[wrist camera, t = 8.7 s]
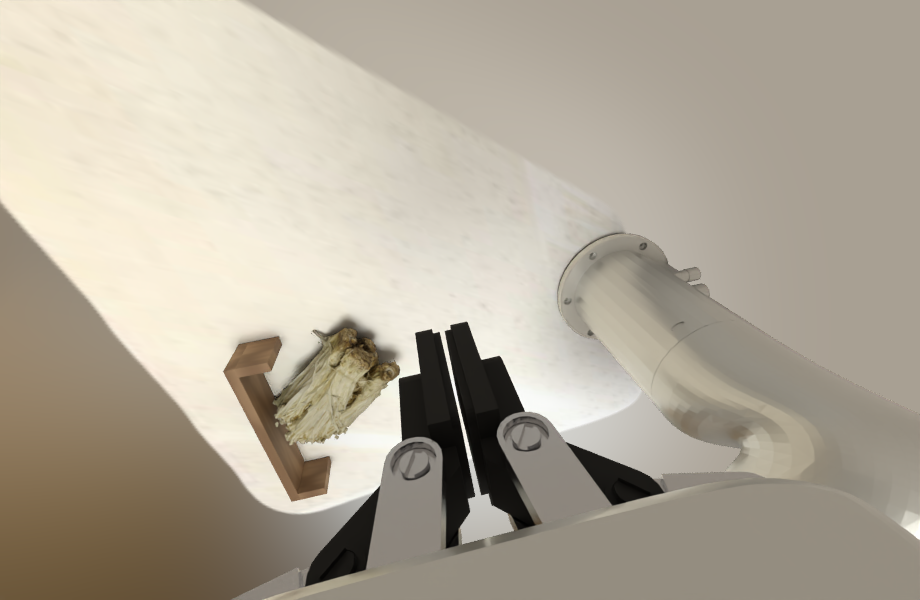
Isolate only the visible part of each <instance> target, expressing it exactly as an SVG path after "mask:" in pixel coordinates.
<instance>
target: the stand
mask: <svg viewBox="0 0 920 600" xmlns="http://www.w3.org/2000/svg"><path fill="white" fill-rule="evenodd" d="M281 346H282V344H281V341H280V339H279V337H274V338H269V339H264V340H259V341H254V342H249V343H244V344H239V345H238V347H237V348H236V350H235V352H234V354H233V355H232V357H231V359H230V361H229V362H228V364H227V366H226V368H225V369H224V371H223V372H224V374H225V376H226V378H227V380H228V382H229V384H230V385H231V387H232V389H233V391H234V393H235V395H236V397H237V399H238V401H239V402H240V404H241V406H242V408H243V410H244V412H245V414H246V416H247V418H248V420H249V421H250V423H251V425H252V427H253V429H254V431H255V433H256V435H257V437H258V439H259V440H260V442H261V444H262V446H263V448H264V450H265V452H266V454H267V456H268V457H269V459H270V461H271V463H272V465H273V467H274V469H275V471H276V473H277V475H278V476H279V478H280V480H281V482H282V484H283V486H284V488H285V490H286V492H287V494H288V495H289V497H290V499H291V501H297V500H301V499H305V498H310V497H314V496H318V495H323V494H327V489H328V482H329V475H330V468H331V460H330V458H329V457H325V458H320V459H316V460H311V461H307V462H304V460H303V457H302V455H301V453H300V451H299V449H298V447H297V445H296V442H293V444H292V445H289V442H290V441H287V440H286V438H285V432H288V431H289V430H287V429H286V423H285V424H283V425H281V424H280V421H279V420H278V419H276V418H275V416H274V415H275V414H277V409H278V407H277V406H276V405H274V404H273V401H274V399H275V398H274V395H273V393H272V391H271V389H270V387H269V385H268V383H267V381H266V378H265V376H264V374H263V373H264V372H269V371H271V370H272V368H273V365H274V363H275V361H276V358H277V356H278V353H279V351H280V348H281ZM276 422H278V427H276V425H275V423H276Z"/></svg>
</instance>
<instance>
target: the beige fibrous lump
mask: <svg viewBox="0 0 920 600" xmlns="http://www.w3.org/2000/svg"><path fill="white" fill-rule="evenodd" d="M313 332H314V333H315V334H316V335H317V336H318V337H319V338H320V339H321V341H322V345H323V347H322V350H321V351H320V352H319V354H318V355H317V356H316V357H315V358H314V359H313V360H312V361H311V363H310V364H309V365H308V366H307V367H306V368H305V369H304V370H303V371H302V372H301V373H300V374H299V375H298V376H297V377H296V378H295V379H294V380H293V381H292V382H291V383H290V384H288V385H289V386H288V385H287V386H288V387H287V386H286V387H287V388H286V389H285V390H284V389H283V390H284V391H283V390H282V393H281V396H280V397H279V398H278V399H276V400H275V399H274V401H273V404H274V405H276V406H277V407H278V409H277V414H275V415H274V416H275V418H276V419H278V420H279V421H280V424H281V425H283V424H285V423H286V429H287V430H289V431H288V432H285V438H286V440H287V441H290V442H289V445H292V444H293V442H297V441H299V442H300V443H301V444H305V441H306V443H307V442H311V443H312V444H313V443H314V442H315V441H316V442H318V443H321V442H322V443H324V441H325V440H326V439H328V438H330V437H331V436H332V434H334V435H336V436H335V438H336V439H338V438H339V436H337V434H338V435H340V434H342V433H346V431H347V430H348V428H347V427H349V426H350V425H351V424H352V423H353V422H354V420H355V419H356V418H357V417H358V416H359V415H360V414H361V413H362V412H364V411H365V410H366V409H367V407H368V406H369V405H370V404H371V403H372V402H373V401H374V400H375V398H377V397H378V396H380V395H381V394H380V391H381V390H382V389H384V388H386V387H387V386H388V385H386V384H387V383H388V382H389V381H392V380H393V379H394V378H396V377H397V376H398V375H399V373H400V368H399V366H398V365H396V362H395V360H394V362H392V363H388V362H384V363H383V364H382V365H380V364H379V361H378V354H377V352H375V350H376V348H375V344H374V343H373V341H372V340H371V339H368V338H365V337H363V338H361V339H356V335H357V331H356V330H354V329H352V328H350V329H347V328H343V329H342V330H341V331H339V332H338V333H336V334H334V335H331V336H327V337H323V336H321V335H319V334H318V333H317V331H316V330H313ZM311 334H312V333H311ZM318 343H320V342H318ZM393 359H394V358H393ZM390 362H391V361H390ZM275 425H276V427H278V422H276V423H275Z"/></svg>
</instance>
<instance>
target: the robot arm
mask: <svg viewBox="0 0 920 600" xmlns="http://www.w3.org/2000/svg"><path fill="white" fill-rule="evenodd" d="M700 277H701V272H700V270H699V269H698V268H697V267H694V268H689V269H684V270H682V271H678V270H676V269H674V268H673V267H671V266H670V265H668V261H667V258H666V257H665V255H664V253H663V251H662V250H661V249H660V248H659V247H658V246H657V245H656V244H655V243H653V242H651V241H650V240H648V239H646V238H644V237H642V236H639V235H634V234H616V235H610V236H607V237H605V238H602V239H599V240H597V241H596V242H594V243H592V244H590V245H589V246H587V247H586V248H585V249H584V250H582V251H581V252H580V253H579V254H578V255H577V256H576V257H575V258H574V259H573V260H572V261H571V263H570V264H569V266H568V267H567V269H566V270H565V272H564V274H563V277H562V279H561V281H560V285H559V290H558V305H559V310H560V313H561V315H562V317H563V319H564V320H565V322H566V323H567V324H568V326H569V327H570V328H571V329H572V330H573V331H575V332H576V333H578V334H579V335H581V336H584V337H586V338H590V339H597V340H600V341H601V342H602V344H603V345H604V346H605V347H606V348H607V350H608V351H609V352H610V353H611V354H612V355H613V357H614V358H615V359H616V360H617V361H618V362H619V364H620V365H621V366H622V367H623V368H624V369H625V371H626V372H627V373H628V374H629V375H630V376H631V378H632V379H633V380H634V381H635V382H636V384H637V385H638V386H639V387H640V388H641V389H642V391H643V392H644V393H645V394H646V395H647V396H648V398H649V399H650V400H651V401H652V402H653V403H654V405H655V406H656V407H657V408H658V409H659V411H661V413H662V414H663V415H664V416H665V418H666V419H667V420H668V421H669V422H670V423H671V424H672V425H674V426H675V427H676V428H677V429H679V430H680V431H682V432H683V433H685V434H687V435H689V436H690V437H693V438H695V439H698V440H701V441H704V442H708V443H712V444H716V445H721V446H727V447H733V448H740V449H741V451H740V454H739V455H738V457H737V458H736V459H735V460H734V461H733V462H732V464H731V465H730V466H729V467H728V468H727V469H726V470H725V472H714V473H713V472H712V473H679V474H662V475H661V479H652V478H651V477H650V476H648V475H646V474H644V473H642V472H640V471H638V470H635V469H632V468H630V467H628V466H625V465H623V464H620V463H617V462H615V461H612V460H610V459H607V458H605V457H602V456H599V455H597V454H595V453H592V452H590V451H587V450H584V449H582V448H579V447H577V446H574V445H572V444H569V443H567V442H565V441H564V440H563V438H562V437H561V435H560V434H559V433H558V431H557V430H556V429H555V427H554V426H553V425H552V423H551V422H550V421H549V420H548V419H547V418H545V417H543V416H542V415H540V414H537V413H533V412H525V411H524V408H523V406H522V404H521V401H520V399H519V397H518V395H517V392H516V390H515V388H514V386H513V383H512V381H511V379H510V376H509V374H508V372H507V370H506V367H505V365H504V363H503V360H502V358H501V357H500V356H497V357H493V358H488V359H484V360H481V358H480V356H479V353H478V350H477V347H476V345H475V342H474V339H473V336H472V334H471V331H470V328H469V325H468V323H467V322H463V323H458V324H454V325H450V326H451V330H447V331H445V335H446V340H447V345H448V350H449V355H450V360H451V365H452V370H453V376H454V381H455V386H456V391H457V396H458V401H459V405H460V409H461V413H462V417H463V422H464V426H465V430H466V434H467V438H468V442H469V446H470V450H471V455H472V459H473V463H474V467H475V471H476V475H477V479H478V483H479V487H480V492H481V495H484V494H488V493H489V497H490V500H491V504H492V506H493V505H494V506H495V507H497V508H499V509H501V510H502V511H504V512H506V513H508V516H509V520H510V523H511V525H512V527H513V529H514V531H513V532H509V533H505V534H501V535H497V536H493V537H489V538H485V539H482V540H478V541H474V542H470V543H466V544H463V545H462V535H461V529H460V526H461V524H462V523H463V522H464V520H465V519H466V517H467V516H468V514H469V513H470V508H469V503H468V498H472V497H475V493H474V488H473V483H472V478H471V473H470V468H469V463H468V458H467V453H466V448H465V443H464V438H463V433H462V428H461V423H460V418H459V414H458V409H457V405H456V401H455V396H454V392H453V388H452V384H451V379H450V375H449V371H448V366H447V362H446V358H445V353H444V349H443V345H442V341H441V336H440V332H438V333H433V332H432V329H430V330H426V331H421V332H417V333H415V335H416V342H417V350H418V357H419V365H420V372H421V374H417V375H412V376H408V377H403V378H399V394H400V412H401V430H402V442H400V443H398V444H397V445H396V446H395V447H394V448H392V449H391V451H390V452H389V454H388V455H387V457H386V460H385V463H384V467H383V473H382V479H381V485H380V486H379V487H378V489H377V490H376V491H375V492H374V493H373V494H372V495H371V496H370V497H369V499H368V500H367V501H366V502H365V503H364V504H363V505H362V506H361V507H360V508H359V510H358V511H357V512H356V513H355V514H354V515H353V516H352V517H351V519H350V520H349V521H348V522H347V523H346V524H345V525H344V526H343V527H342V528H341V530H340V531H339V532H338V533H337V534H336V535H335V536H334V537H333V538H332V539H331V541H330V542H329V543H328V544H327V545H326V546H325V547H324V548H323V550H322V551H321V552H320V553H319V554H318V556H317V557H316V558H315V560H314V561H313V562H312V564H311V566H310V567H308V568H306V569H304V570H302V571H300V570H299V568H298V567H297V568H295V569H293V570H291V571H289V572H287V573H285V574H283V575H281V576H279V577H277V578H275V579H273V580H271V581H269V582H267V583H265V584H263V585H261V586H258V587H256V588H254V589H252V590H250V591H248V592H246V593H244V594H242V595H240V596H238V597H236V598H234V599H232V600H920V414H918V413H916V412H914V411H912V410H910V409H908V408H906V407H904V406H901V405H899V404H897V403H895V402H893V401H891V400H888V399H886V398H884V397H882V396H880V395H878V394H876V393H873V392H871V391H869V390H867V389H865V388H863V387H861V386H859V385H857V384H854V383H853V382H851V381H849V380H847V379H845V378H842V377H841V376H839V375H837V374H835V373H833V372H831V371H829V370H827V369H825V368H824V367H821V366H819V365H818V364H816V363H814V362H813V361H811V360H809V359H807V358H806V357H804V356H802V355H801V354H799V353H797V352H796V351H794V350H792V349H790V348H789V347H787V346H785V345H784V344H782V343H780V342H779V341H777V340H776V339H774V338H772V337H771V336H769V335H768V334H766V333H765V332H763V331H761V330H760V329H758V328H756V327H755V326H754V325H752V324H751V323H749V322H747V321H746V320H744V319H743V318H741V317H739V316H738V315H737V314H735V313H733V312H732V311H730V310H729V309H727V308H726V307H724V306H723V305H721V304H719V303H718V302H716V301H715V300H713V299H712V298H710V297H709V295H710V294H709V289H708V287H707V286H706V285H705V284H697V285H692V286H691V285H690V284H688V283H687V282H690V281H695V280H698V279H700Z"/></svg>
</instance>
